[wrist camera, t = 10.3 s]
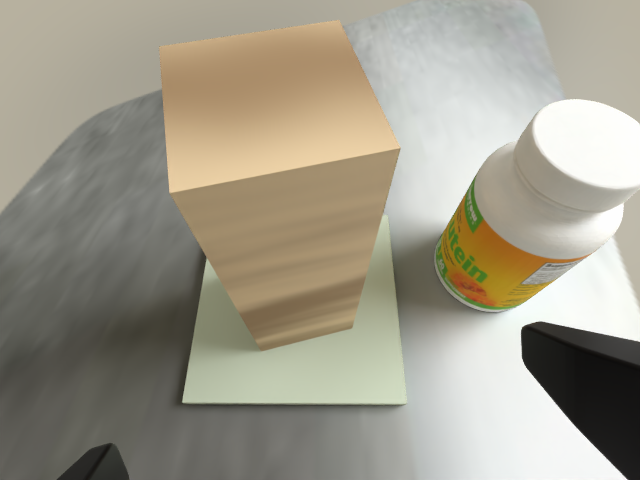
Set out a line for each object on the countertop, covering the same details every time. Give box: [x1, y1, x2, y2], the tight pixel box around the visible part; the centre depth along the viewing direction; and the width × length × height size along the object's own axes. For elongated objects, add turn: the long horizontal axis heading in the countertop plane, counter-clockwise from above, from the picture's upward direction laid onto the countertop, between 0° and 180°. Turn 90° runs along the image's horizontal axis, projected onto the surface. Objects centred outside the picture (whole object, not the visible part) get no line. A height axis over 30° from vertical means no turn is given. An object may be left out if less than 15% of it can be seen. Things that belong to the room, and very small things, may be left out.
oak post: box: [159, 20, 400, 351], centre depth 14 cm, size 4×4×12 cm
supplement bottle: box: [434, 99, 640, 312], centre depth 16 cm, size 5×5×10 cm
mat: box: [182, 215, 407, 405], centre depth 19 cm, size 10×10×1 cm
